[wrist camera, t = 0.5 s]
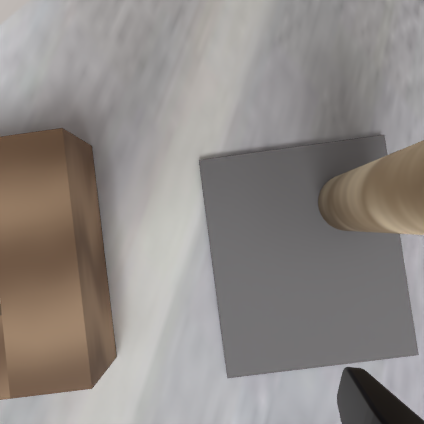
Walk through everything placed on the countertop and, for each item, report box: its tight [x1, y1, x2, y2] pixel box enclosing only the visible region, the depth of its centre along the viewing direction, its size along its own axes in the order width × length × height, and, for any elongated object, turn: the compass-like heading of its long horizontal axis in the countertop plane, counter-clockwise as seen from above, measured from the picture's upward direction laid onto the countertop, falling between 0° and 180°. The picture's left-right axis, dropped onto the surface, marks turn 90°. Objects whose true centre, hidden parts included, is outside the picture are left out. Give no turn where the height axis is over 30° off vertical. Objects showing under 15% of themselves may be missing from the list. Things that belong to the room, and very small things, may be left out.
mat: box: [199, 135, 418, 378], centre depth 21 cm, size 14×12×1 cm
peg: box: [318, 140, 424, 235], centre depth 14 cm, size 4×4×14 cm
